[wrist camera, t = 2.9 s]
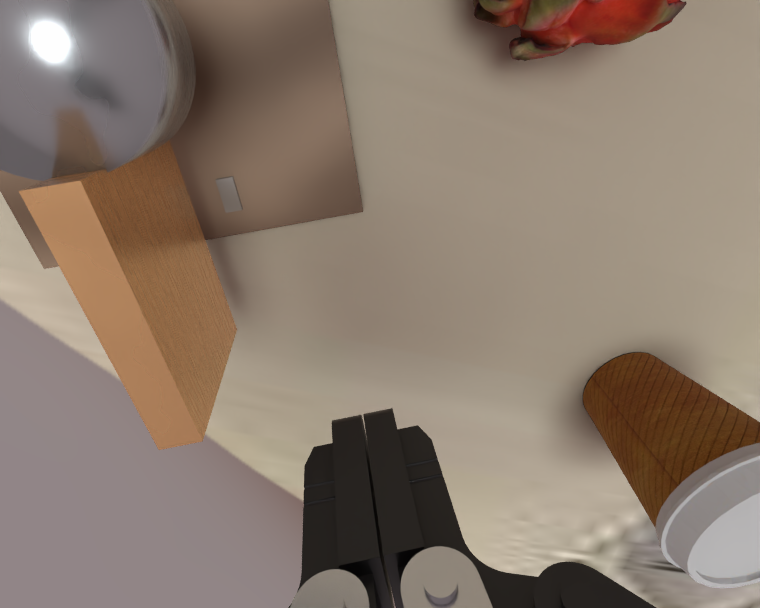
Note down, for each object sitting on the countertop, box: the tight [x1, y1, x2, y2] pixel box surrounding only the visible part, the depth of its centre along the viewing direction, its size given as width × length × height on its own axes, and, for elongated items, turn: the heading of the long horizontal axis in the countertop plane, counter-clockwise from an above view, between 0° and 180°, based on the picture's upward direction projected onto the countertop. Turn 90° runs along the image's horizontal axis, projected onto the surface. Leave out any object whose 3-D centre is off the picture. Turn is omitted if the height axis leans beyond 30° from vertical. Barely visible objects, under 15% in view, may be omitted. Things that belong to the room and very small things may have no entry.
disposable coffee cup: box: [583, 352, 760, 588], centre depth 27 cm, size 10×10×12 cm
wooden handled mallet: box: [0, 0, 237, 450], centre depth 15 cm, size 15×6×8 cm, turn 8°
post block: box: [0, 0, 363, 269], centre depth 17 cm, size 16×16×6 cm
